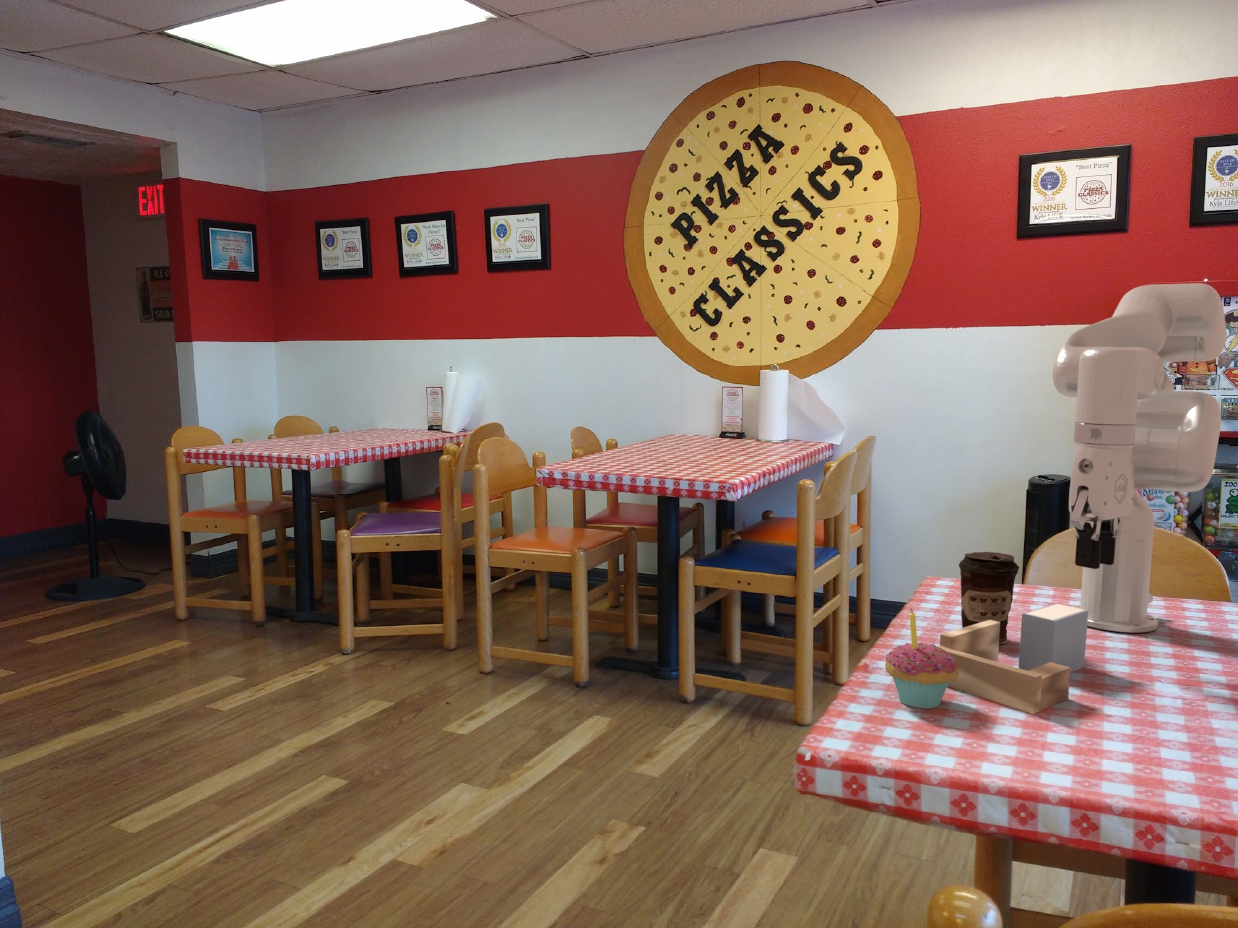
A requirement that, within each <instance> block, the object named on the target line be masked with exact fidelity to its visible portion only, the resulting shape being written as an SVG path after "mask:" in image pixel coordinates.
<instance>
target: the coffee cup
mask: <svg viewBox="0 0 1238 928" xmlns="http://www.w3.org/2000/svg"><path fill="white" fill-rule="evenodd" d="M958 567H959V569H960V570H959V571H960V575H959V576H960V600H961V602H960V603H961V610H960V616H961V627H962V628H964V627H967V626H971V625H974V624H977V623H981V622H984V621H987V620H993V621H997V622H1000V633H999V645H1003V644H1006V643H1008V636H1007V635H1008V629H1007V627H1008V626H1007V625H1008V624H1009V614H1010V612H1011V609H1012V604H1013V596H1014V586H1015V582H1016V581H1015V580H1016V577H1017V574H1018V572H1019V569H1020V566H1019V565H1018V564H1017V562H1015V556H1014V555H1011V554H1008V553H1007V554H1006V553H1001V552H993V551H979V552H977V551H973V552H971V553H970V552H969V553H965V554H964V558H963V559H962V560H960V562H959V563H958Z"/></svg>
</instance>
